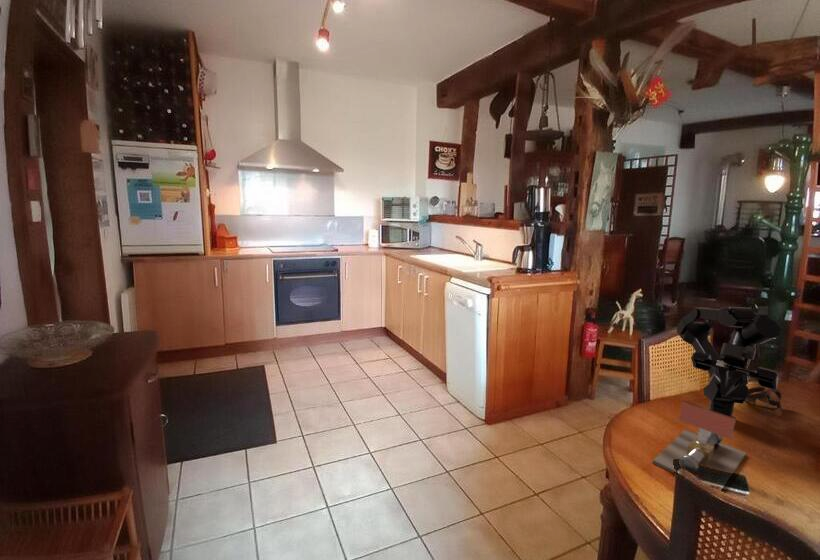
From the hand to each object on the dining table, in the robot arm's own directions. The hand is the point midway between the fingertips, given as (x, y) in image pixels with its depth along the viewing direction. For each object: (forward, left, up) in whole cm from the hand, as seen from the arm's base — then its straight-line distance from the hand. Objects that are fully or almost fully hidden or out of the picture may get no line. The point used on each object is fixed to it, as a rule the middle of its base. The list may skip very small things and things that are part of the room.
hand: (722, 395), depth 111 cm
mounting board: (+14, 0, -14) cm, 19 cm away
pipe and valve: (+13, 0, -13) cm, 18 cm away
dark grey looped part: (-35, +4, -14) cm, 38 cm away
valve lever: (+14, 0, -8) cm, 16 cm away
